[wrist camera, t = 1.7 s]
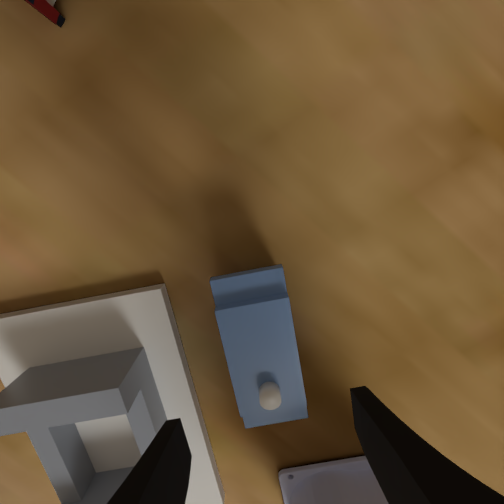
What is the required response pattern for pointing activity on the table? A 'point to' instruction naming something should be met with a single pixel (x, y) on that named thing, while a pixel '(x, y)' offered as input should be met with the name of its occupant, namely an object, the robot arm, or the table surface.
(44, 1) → the book
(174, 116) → the table surface
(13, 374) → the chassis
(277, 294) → the block
